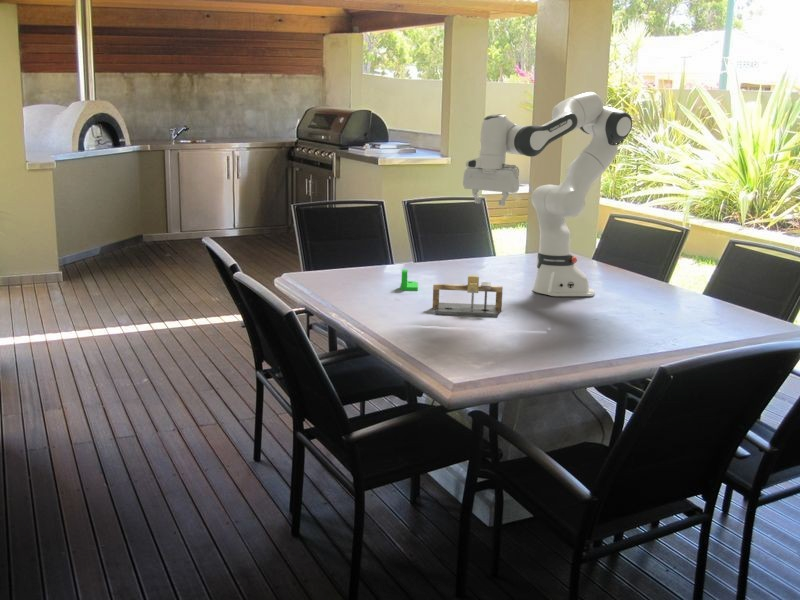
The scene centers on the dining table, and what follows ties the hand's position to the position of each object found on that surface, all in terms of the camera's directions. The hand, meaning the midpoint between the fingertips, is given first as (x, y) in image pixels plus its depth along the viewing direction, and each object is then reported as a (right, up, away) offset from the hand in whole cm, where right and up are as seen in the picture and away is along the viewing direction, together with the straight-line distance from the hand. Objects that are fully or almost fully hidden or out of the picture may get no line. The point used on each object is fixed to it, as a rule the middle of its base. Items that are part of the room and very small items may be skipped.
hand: (489, 204), depth 288 cm
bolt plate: (-8, -36, -7) cm, 38 cm away
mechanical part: (-27, -29, +28) cm, 48 cm away
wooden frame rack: (-8, -36, -7) cm, 38 cm away
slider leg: (-6, -35, -7) cm, 36 cm away
